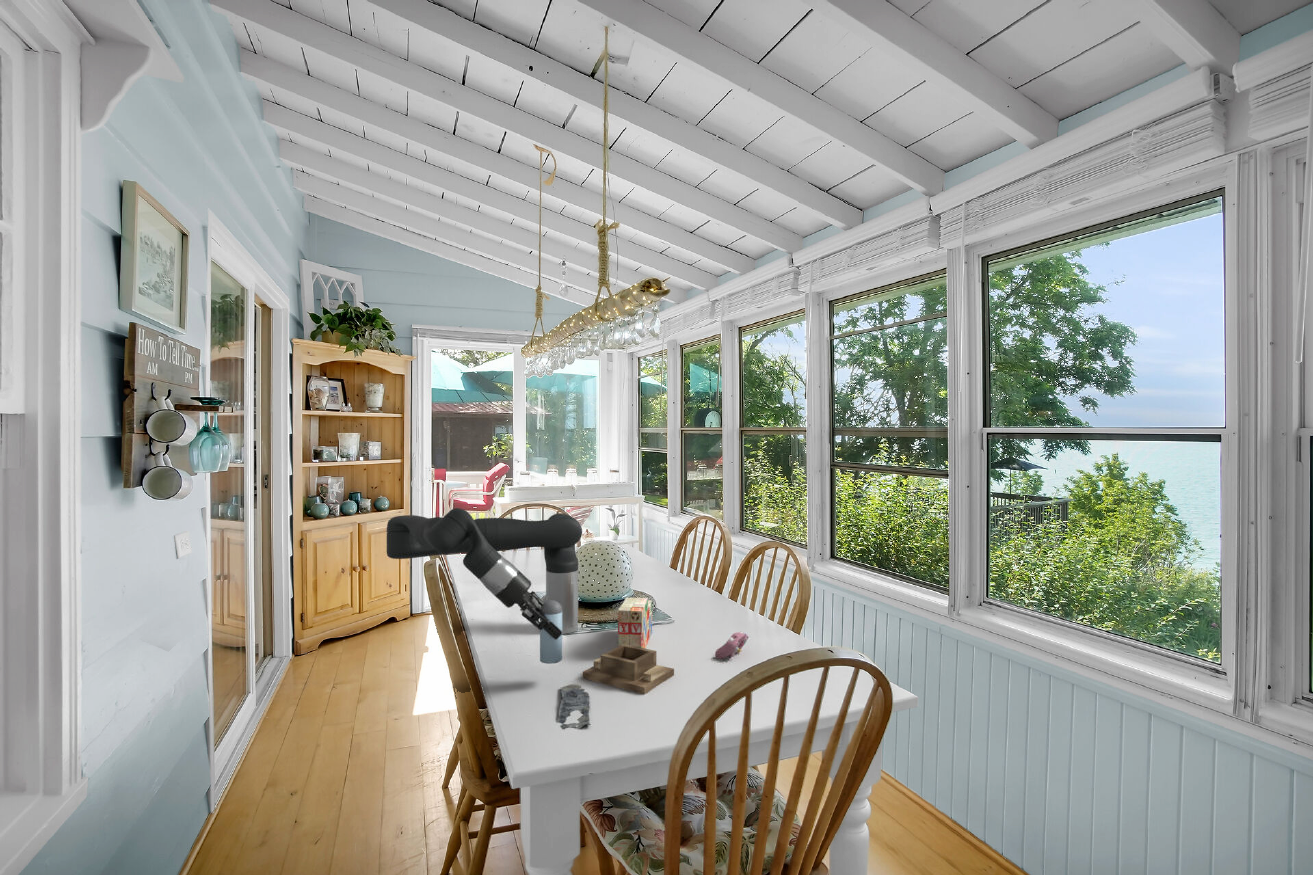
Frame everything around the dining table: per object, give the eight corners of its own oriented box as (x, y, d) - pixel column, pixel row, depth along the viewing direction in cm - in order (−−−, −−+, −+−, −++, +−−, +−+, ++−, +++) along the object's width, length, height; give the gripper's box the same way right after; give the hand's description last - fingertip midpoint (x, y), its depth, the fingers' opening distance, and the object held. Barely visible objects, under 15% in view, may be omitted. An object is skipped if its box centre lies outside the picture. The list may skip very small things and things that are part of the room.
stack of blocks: (630, 631, 183) (631, 588, 183) (652, 632, 182) (652, 589, 182) (617, 657, 162) (617, 609, 162) (641, 658, 161) (642, 610, 161)
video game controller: (727, 667, 160) (739, 644, 158) (712, 656, 162) (724, 633, 160) (742, 655, 168) (754, 633, 167) (728, 645, 170) (739, 623, 169)
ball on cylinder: (535, 660, 144) (535, 601, 144) (550, 654, 149) (550, 596, 148) (552, 665, 142) (552, 604, 142) (566, 658, 146) (566, 599, 146)
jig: (582, 678, 148) (582, 654, 148) (614, 661, 159) (615, 639, 159) (644, 694, 139) (644, 669, 139) (674, 675, 150) (674, 651, 150)
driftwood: (560, 688, 143) (560, 679, 143) (591, 687, 144) (591, 678, 144) (554, 733, 122) (554, 722, 122) (590, 732, 123) (590, 721, 123)
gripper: (496, 585, 150) (548, 634, 152) (489, 602, 136) (546, 655, 138) (519, 562, 151) (571, 611, 153) (514, 576, 137) (571, 630, 139)
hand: (559, 632), depth 145 cm, fingers closed on ball on cylinder, 5 cm apart
